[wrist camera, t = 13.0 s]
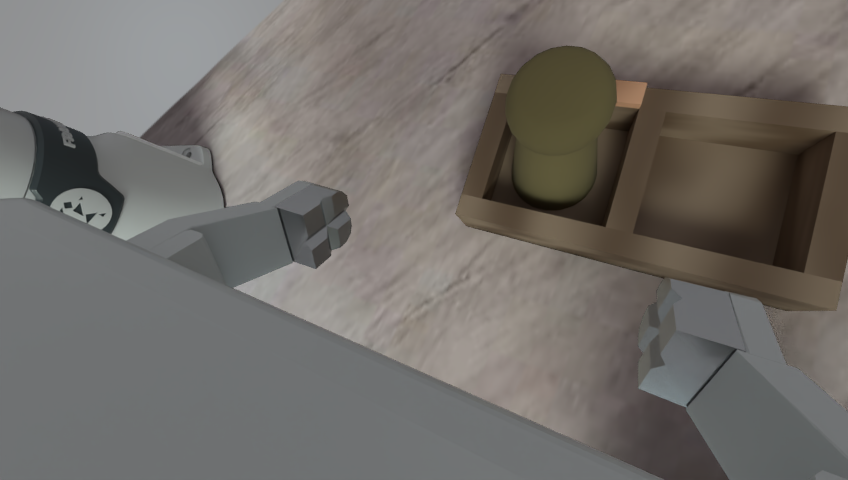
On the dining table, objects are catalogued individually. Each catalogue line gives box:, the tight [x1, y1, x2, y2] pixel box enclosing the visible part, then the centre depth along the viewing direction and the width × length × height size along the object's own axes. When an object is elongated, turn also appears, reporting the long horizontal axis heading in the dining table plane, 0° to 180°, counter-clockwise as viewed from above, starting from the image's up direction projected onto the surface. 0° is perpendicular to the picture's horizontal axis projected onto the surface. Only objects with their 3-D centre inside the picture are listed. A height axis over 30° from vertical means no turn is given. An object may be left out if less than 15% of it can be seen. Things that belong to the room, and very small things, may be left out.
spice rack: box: [455, 74, 848, 311], centre depth 23 cm, size 20×11×4 cm, turn 71°
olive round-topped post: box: [505, 46, 617, 211], centre depth 21 cm, size 6×6×11 cm
